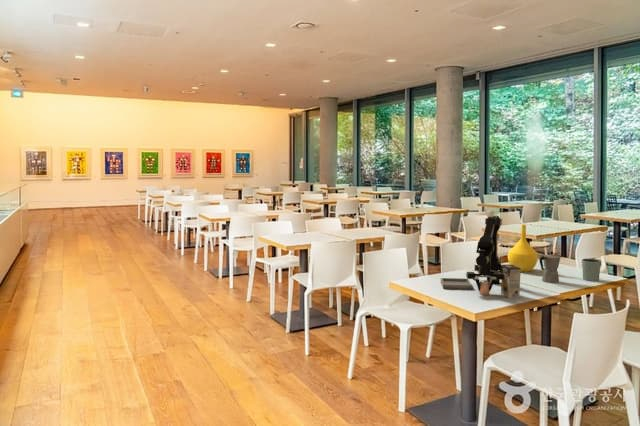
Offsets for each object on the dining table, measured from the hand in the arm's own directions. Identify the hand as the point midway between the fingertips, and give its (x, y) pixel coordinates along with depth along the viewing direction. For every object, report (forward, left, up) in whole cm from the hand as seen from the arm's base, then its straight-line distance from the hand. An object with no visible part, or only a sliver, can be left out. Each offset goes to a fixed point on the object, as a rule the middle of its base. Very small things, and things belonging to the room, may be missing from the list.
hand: (484, 291), depth 268 cm
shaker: (0, 0, -2) cm, 2 cm away
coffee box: (-13, +2, -2) cm, 13 cm away
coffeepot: (-43, -32, -2) cm, 54 cm away
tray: (+13, -16, -2) cm, 21 cm away
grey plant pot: (-69, -39, -2) cm, 79 cm away
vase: (-35, -61, -2) cm, 70 cm away
